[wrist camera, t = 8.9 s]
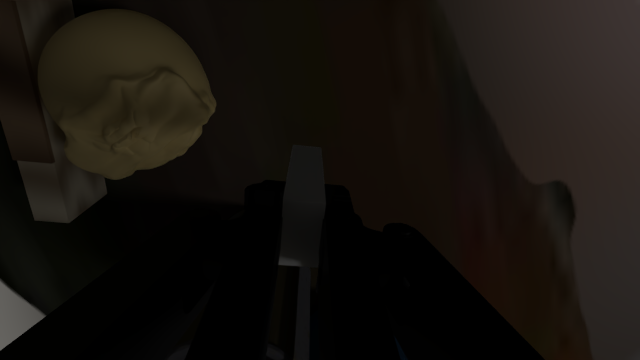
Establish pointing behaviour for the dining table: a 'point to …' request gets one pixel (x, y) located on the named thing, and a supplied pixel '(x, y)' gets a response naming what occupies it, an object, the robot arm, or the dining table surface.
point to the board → (39, 114)
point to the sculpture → (123, 91)
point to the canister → (275, 317)
